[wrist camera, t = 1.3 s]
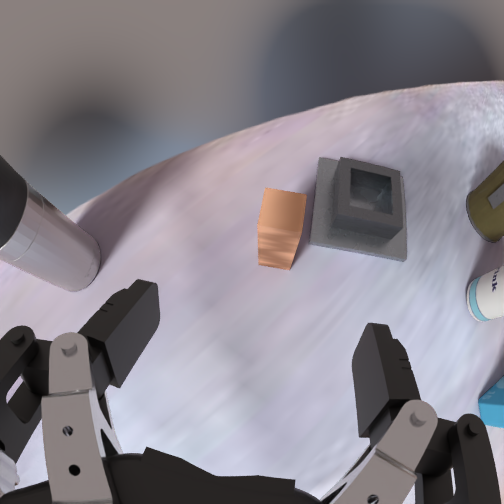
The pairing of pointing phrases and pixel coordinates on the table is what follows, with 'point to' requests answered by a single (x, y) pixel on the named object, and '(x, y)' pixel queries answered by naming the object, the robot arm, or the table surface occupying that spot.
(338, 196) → the socket plate
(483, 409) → the data package
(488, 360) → the table surface
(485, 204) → the canister
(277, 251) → the terracotta peg
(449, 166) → the table surface
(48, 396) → the robot arm
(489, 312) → the beverage can
